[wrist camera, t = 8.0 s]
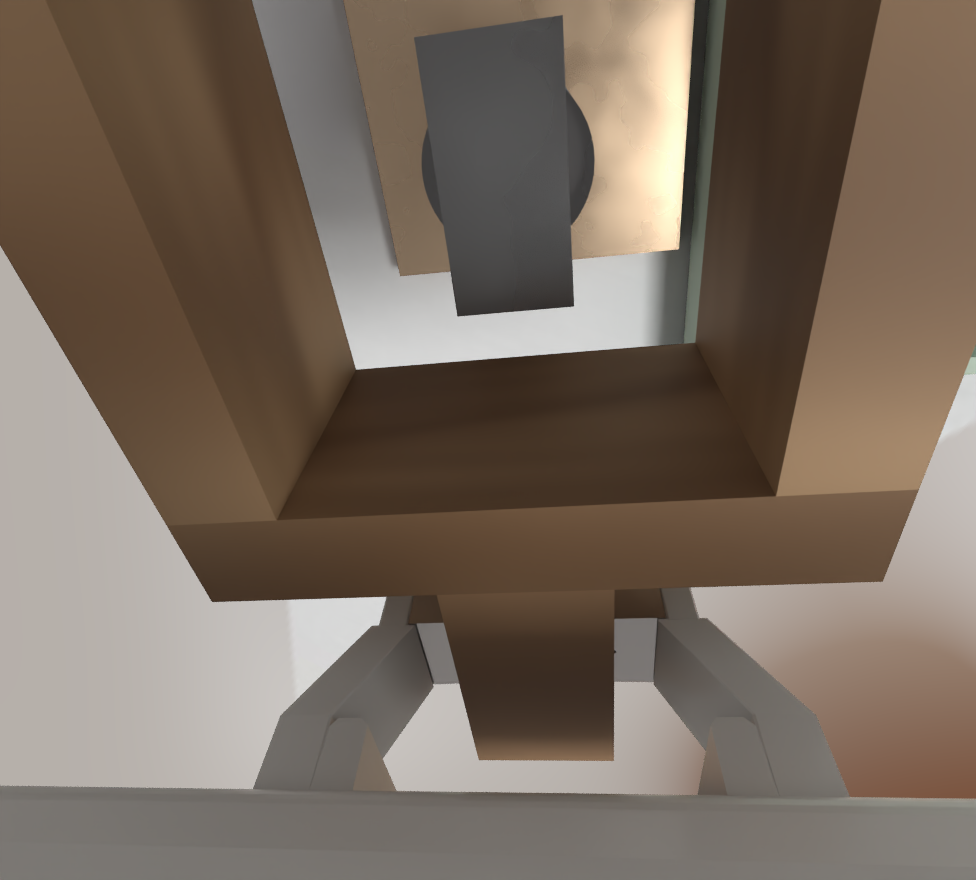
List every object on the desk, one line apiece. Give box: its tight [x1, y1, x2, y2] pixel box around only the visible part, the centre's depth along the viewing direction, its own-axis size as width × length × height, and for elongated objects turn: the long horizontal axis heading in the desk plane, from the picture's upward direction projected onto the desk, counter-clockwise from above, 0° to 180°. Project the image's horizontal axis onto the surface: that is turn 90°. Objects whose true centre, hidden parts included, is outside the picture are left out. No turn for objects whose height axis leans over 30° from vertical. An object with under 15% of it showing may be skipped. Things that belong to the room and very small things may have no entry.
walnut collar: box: [0, 0, 976, 761], centre depth 8 cm, size 14×9×4 cm, turn 7°
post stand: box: [343, 0, 695, 316], centre depth 16 cm, size 12×12×16 cm
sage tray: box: [683, 0, 976, 375], centre depth 20 cm, size 20×15×3 cm
